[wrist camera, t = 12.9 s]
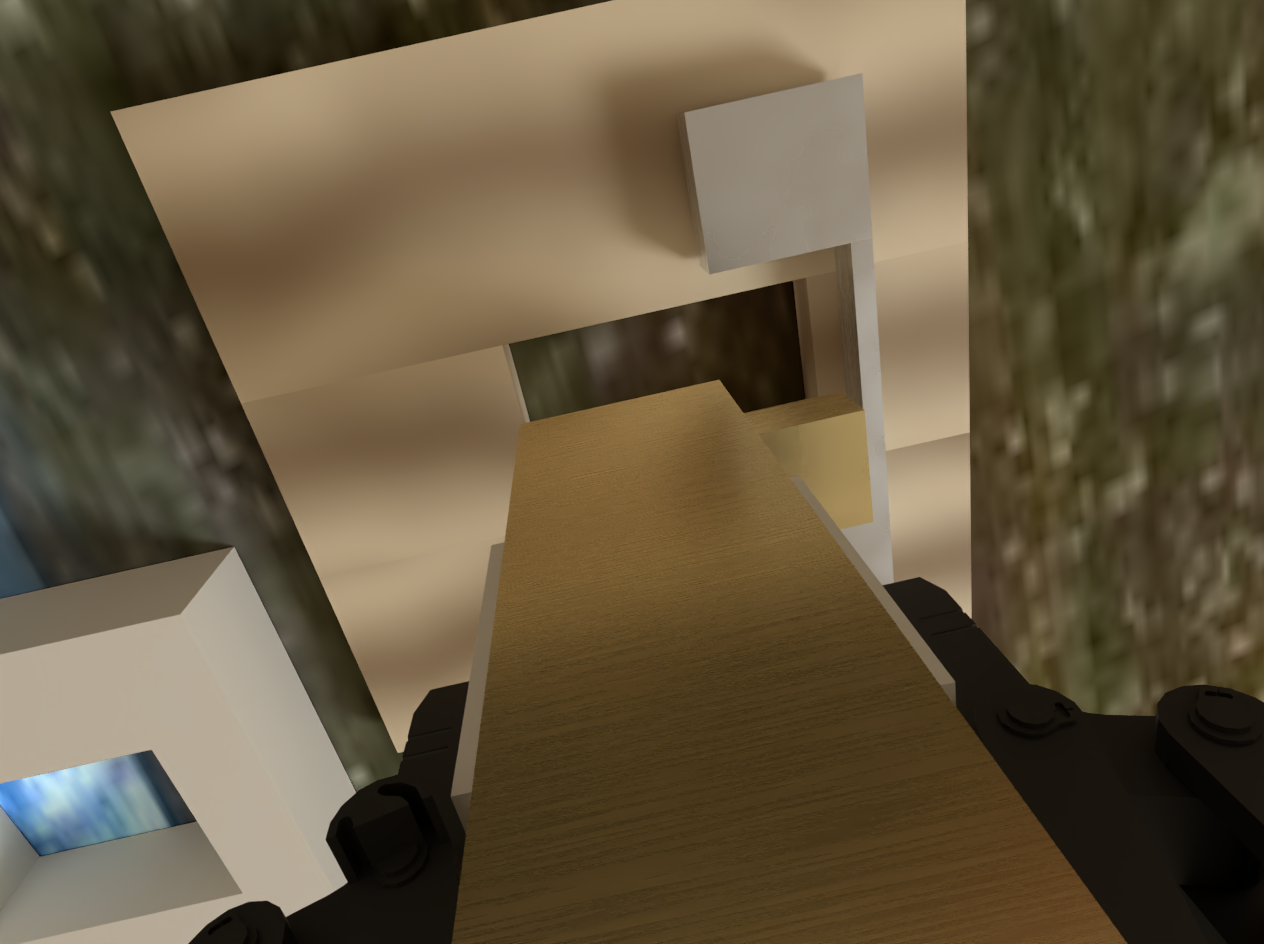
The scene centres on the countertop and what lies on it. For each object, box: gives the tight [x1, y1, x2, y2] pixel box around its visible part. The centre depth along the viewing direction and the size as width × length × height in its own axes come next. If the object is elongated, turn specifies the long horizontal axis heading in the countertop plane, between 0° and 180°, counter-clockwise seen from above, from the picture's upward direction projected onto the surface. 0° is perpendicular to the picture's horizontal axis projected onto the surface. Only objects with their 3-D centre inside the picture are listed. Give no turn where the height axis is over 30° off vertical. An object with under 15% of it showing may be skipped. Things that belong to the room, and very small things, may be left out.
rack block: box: [0, 547, 356, 944], centre depth 27 cm, size 16×16×4 cm
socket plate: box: [111, 0, 971, 753], centre depth 24 cm, size 22×22×2 cm
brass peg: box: [452, 380, 1127, 944], centre depth 12 cm, size 5×8×15 cm, turn 101°
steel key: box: [676, 73, 894, 585], centre depth 22 cm, size 22×6×8 cm, turn 11°
